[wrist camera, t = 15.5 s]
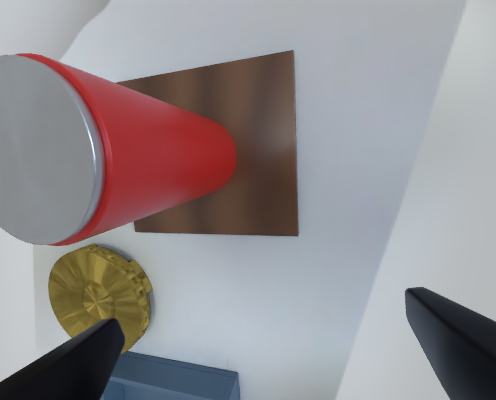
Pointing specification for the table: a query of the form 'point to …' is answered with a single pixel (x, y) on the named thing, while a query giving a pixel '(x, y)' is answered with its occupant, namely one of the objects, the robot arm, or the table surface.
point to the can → (96, 153)
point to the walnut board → (238, 145)
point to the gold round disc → (100, 292)
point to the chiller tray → (168, 380)
